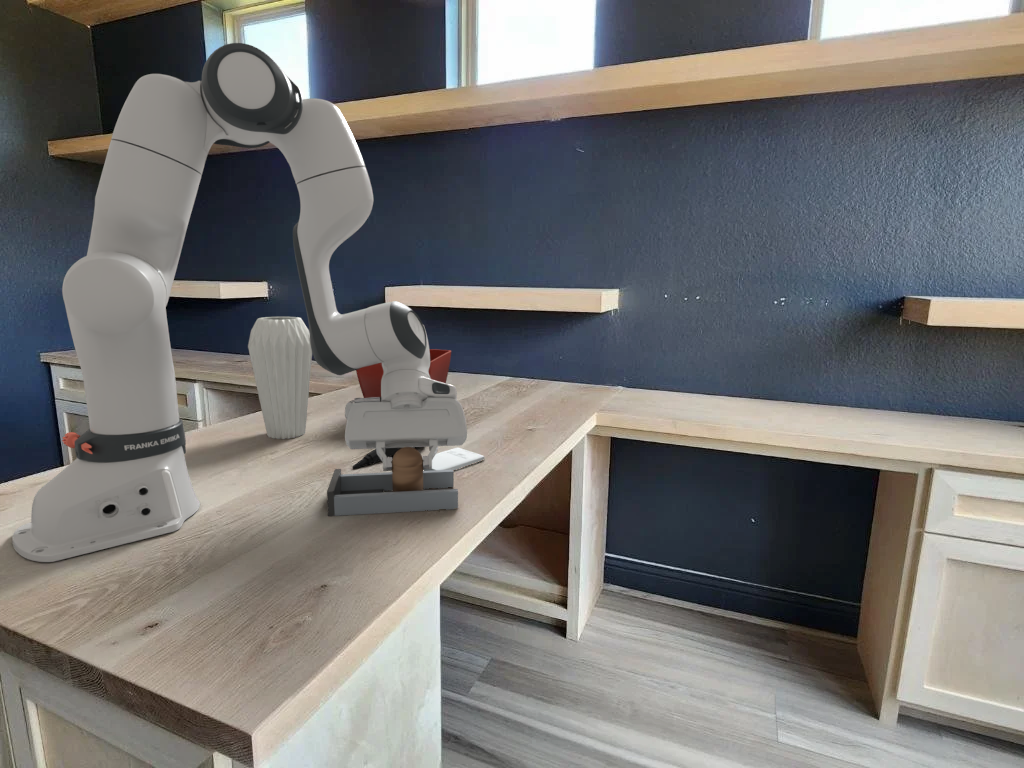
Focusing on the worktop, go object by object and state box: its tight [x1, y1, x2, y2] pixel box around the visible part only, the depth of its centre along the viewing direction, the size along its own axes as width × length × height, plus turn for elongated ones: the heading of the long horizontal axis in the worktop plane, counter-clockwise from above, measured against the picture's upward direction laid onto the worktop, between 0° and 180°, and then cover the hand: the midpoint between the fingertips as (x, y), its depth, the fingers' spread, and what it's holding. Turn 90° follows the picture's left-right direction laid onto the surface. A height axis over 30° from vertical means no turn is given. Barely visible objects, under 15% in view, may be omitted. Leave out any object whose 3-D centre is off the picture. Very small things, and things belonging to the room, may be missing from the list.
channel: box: [326, 468, 459, 517], centre depth 93 cm, size 20×10×4 cm, turn 100°
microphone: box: [352, 447, 421, 470], centre depth 115 cm, size 6×6×20 cm
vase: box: [247, 316, 313, 440], centre depth 126 cm, size 13×13×26 cm
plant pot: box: [355, 348, 452, 398], centre depth 142 cm, size 19×19×17 cm
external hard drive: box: [423, 447, 485, 471], centre depth 112 cm, size 2×8×12 cm
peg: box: [391, 447, 424, 492], centre depth 93 cm, size 5×5×8 cm
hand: (407, 468), depth 92 cm, fingers closed on peg, 5 cm apart
